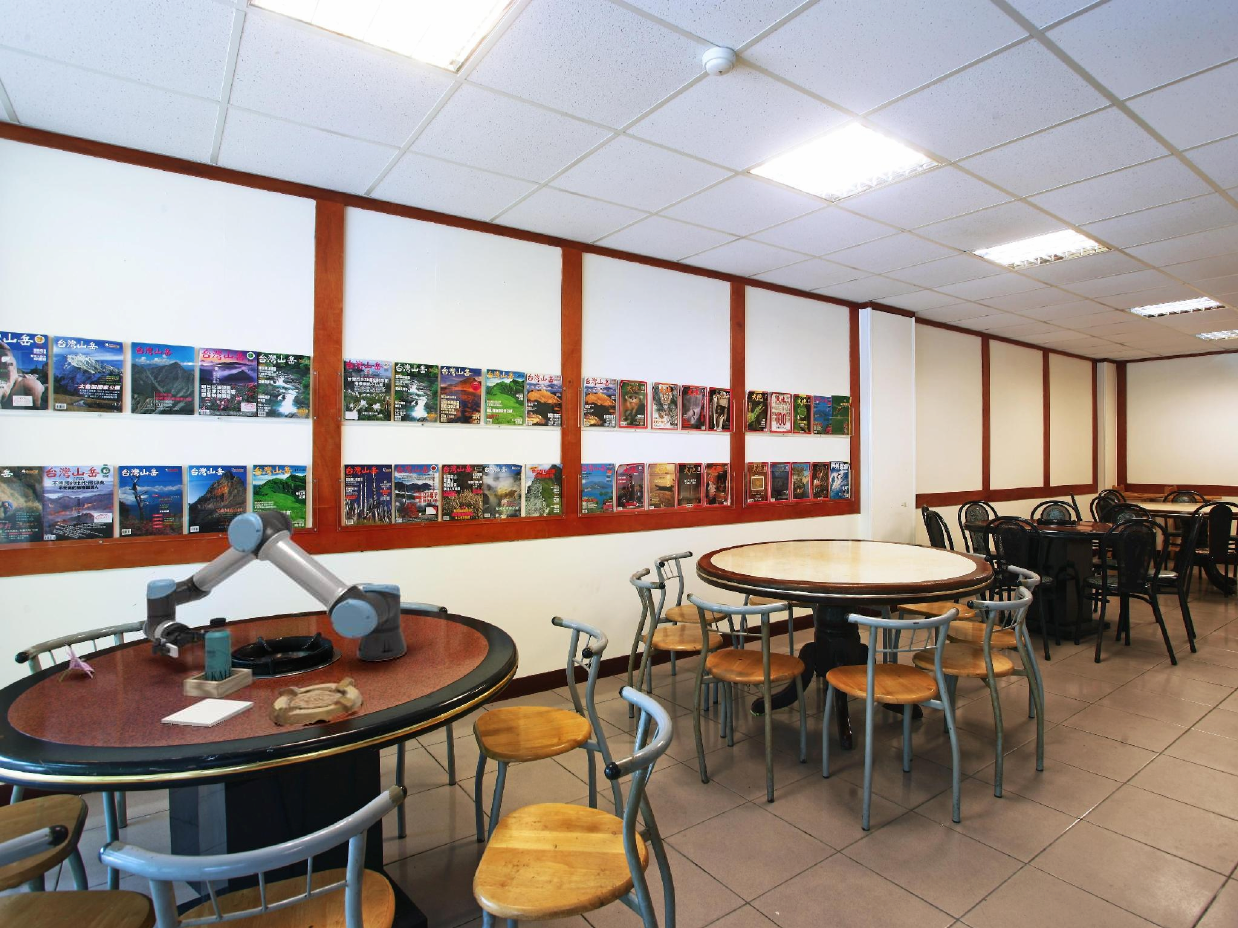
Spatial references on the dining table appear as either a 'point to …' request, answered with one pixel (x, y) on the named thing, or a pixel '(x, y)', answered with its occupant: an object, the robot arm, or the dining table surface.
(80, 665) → the lily
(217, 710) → the rubber mat
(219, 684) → the wooden tray
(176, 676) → the dining table surface
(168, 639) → the robot arm
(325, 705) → the ashtray
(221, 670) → the beverage bottle
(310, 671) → the dining table surface
